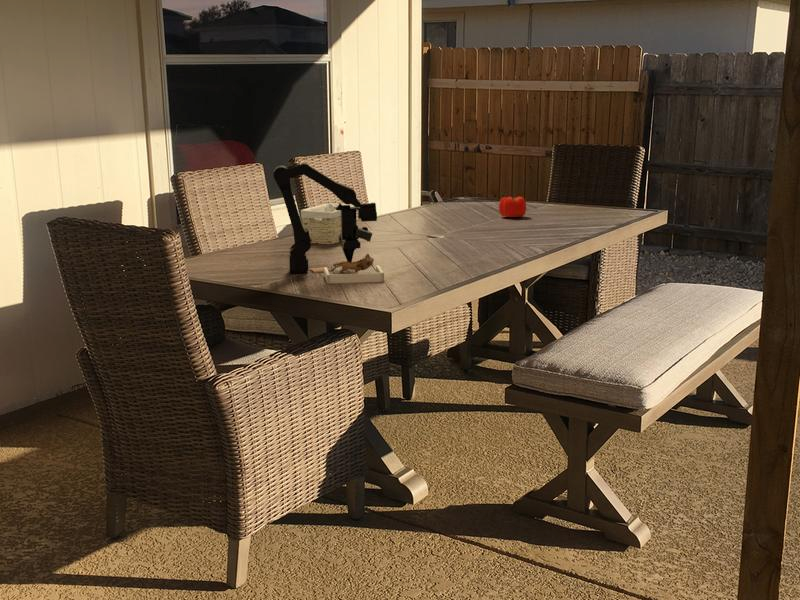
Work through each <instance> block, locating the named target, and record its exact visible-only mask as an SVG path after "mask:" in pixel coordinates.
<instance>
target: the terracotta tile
mask: <svg viewBox="0 0 800 600" xmlns="http://www.w3.org/2000/svg"><path fill="white" fill-rule="evenodd" d="M324 267H325V266H320V267H310V268H309V267H308V271H310V270H311V271H310V272H312V271H313V272H312V273H314V274H317V272H318V274H319V272H321V273H324ZM327 269H328V272H329V273H330V271H331V270H330V268H328V267H327Z"/></svg>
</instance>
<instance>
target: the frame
mask: <svg viewBox="0 0 800 600" xmlns="http://www.w3.org/2000/svg"><path fill="white" fill-rule="evenodd" d="M323 267H324V272H323V276H324V279H325V282H326V284H349V283H350V284H352V283H353V284H354V283H357V284H358V283H377V282H378V283H379V282H382V283H383V282H385V272H384V271H383V269H382V267H381V266H380V265H375V270H376V271H375V272H365V273H363V272H361V273H358V272H356V273H343V274H341V273H339V274H338V273H337V274H336V273H335V274H334V273H333V274H330V272H328V269H329V268H328V267H326V266H323ZM327 268H328V269H327Z"/></svg>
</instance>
